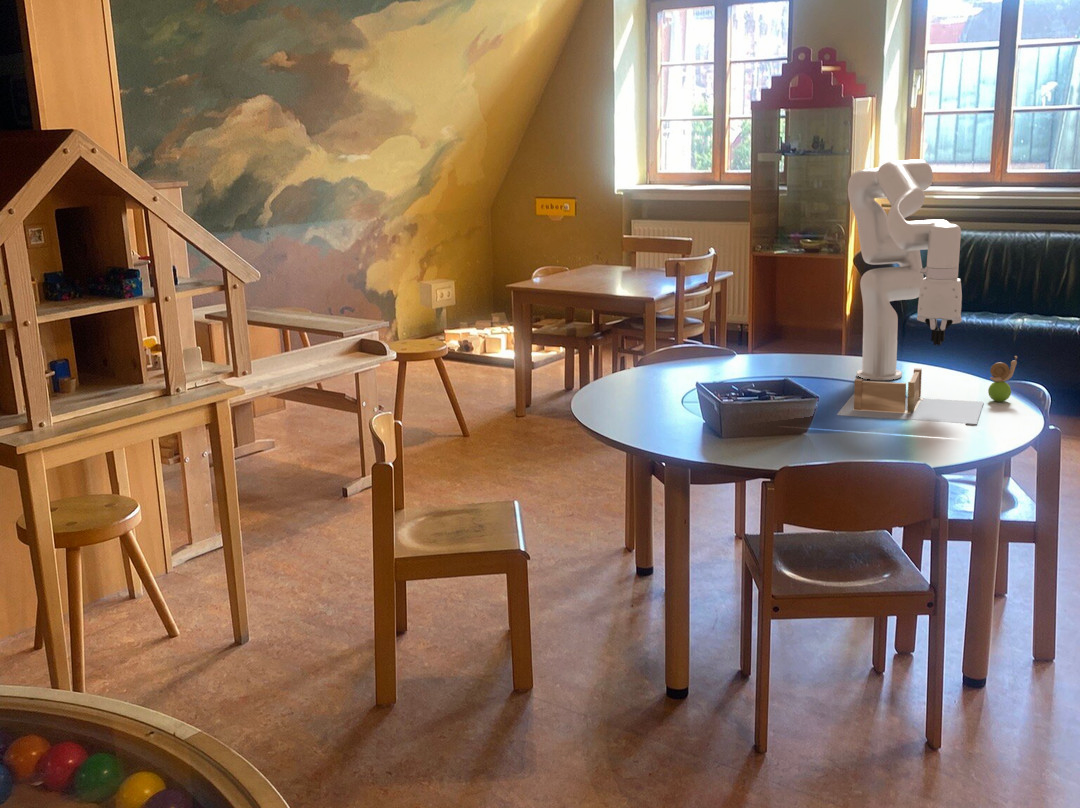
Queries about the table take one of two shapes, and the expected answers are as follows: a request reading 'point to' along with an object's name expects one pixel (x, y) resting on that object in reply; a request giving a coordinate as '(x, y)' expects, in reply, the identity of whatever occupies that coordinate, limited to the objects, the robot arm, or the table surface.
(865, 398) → the fixed fence section
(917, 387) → the hinged fence panel
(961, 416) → the card
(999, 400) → the snail figurine
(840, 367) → the table surface
